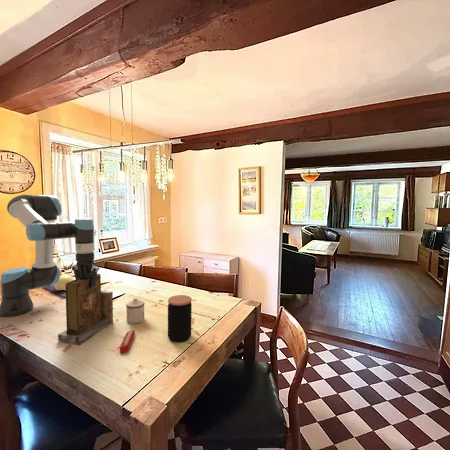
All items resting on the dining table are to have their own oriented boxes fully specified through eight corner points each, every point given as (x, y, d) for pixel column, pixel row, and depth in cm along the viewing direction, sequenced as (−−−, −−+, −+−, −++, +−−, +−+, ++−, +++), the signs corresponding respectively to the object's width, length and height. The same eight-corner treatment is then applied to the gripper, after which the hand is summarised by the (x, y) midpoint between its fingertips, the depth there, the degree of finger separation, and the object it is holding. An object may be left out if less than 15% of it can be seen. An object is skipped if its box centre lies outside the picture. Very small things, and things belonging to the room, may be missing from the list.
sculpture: (73, 285, 185) (72, 271, 184) (74, 290, 175) (74, 275, 174) (54, 288, 178) (53, 273, 178) (54, 293, 169) (54, 277, 168)
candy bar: (127, 334, 118) (127, 328, 118) (135, 334, 119) (135, 328, 119) (118, 355, 103) (118, 347, 102) (127, 354, 103) (127, 347, 103)
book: (93, 321, 128) (92, 273, 126) (103, 323, 127) (102, 274, 125) (66, 338, 112) (65, 283, 110) (77, 340, 111) (75, 284, 109)
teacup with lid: (147, 320, 132) (147, 299, 131) (129, 325, 126) (129, 303, 125) (138, 313, 141) (138, 292, 140) (122, 317, 136) (121, 296, 135)
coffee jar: (180, 329, 124) (181, 293, 123) (196, 336, 118) (196, 298, 116) (162, 337, 116) (162, 299, 115) (178, 346, 109) (178, 305, 108)
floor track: (58, 341, 111) (57, 306, 110) (94, 319, 132) (93, 289, 131) (79, 345, 109) (78, 309, 107) (113, 322, 130) (112, 291, 129)
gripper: (66, 252, 115) (68, 303, 116) (91, 254, 112) (92, 306, 114) (79, 249, 122) (80, 297, 124) (102, 251, 119) (104, 300, 121)
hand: (86, 301), depth 119 cm, fingers closed
